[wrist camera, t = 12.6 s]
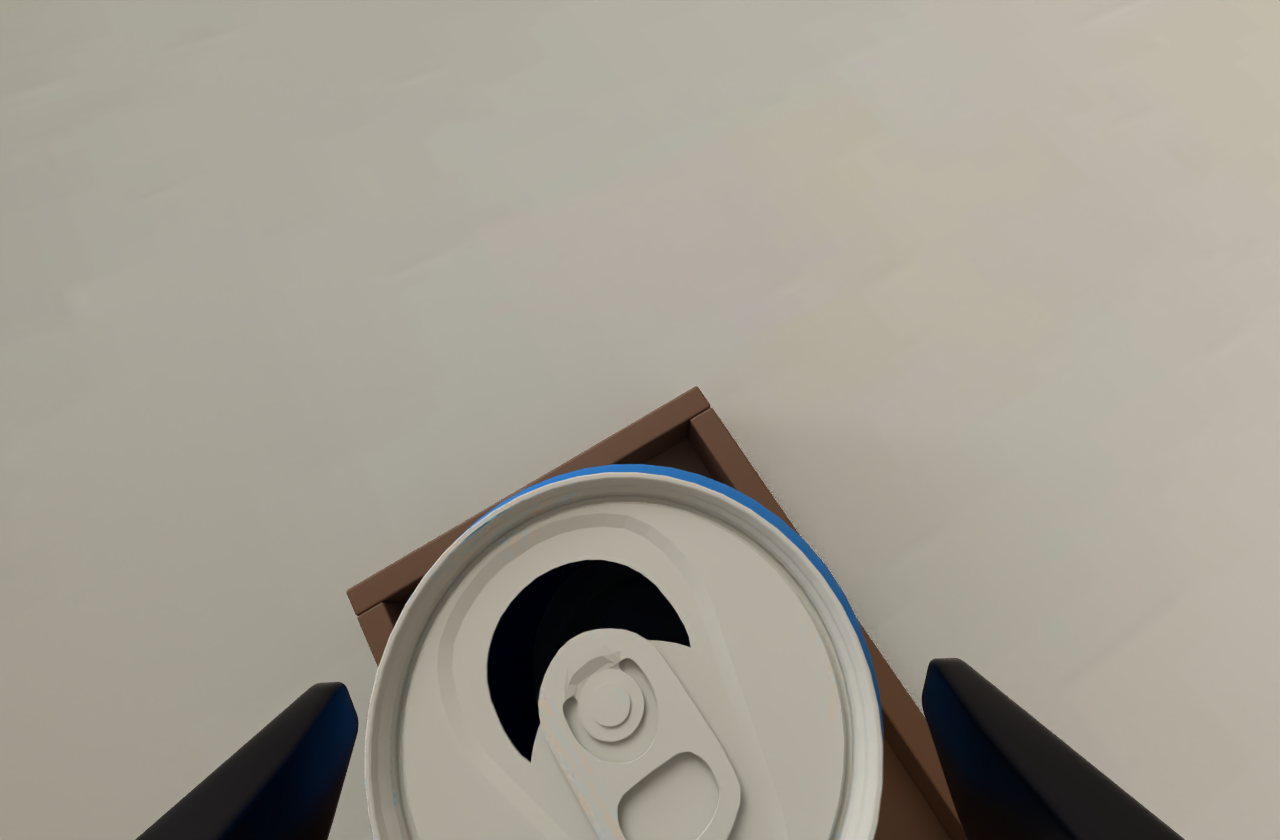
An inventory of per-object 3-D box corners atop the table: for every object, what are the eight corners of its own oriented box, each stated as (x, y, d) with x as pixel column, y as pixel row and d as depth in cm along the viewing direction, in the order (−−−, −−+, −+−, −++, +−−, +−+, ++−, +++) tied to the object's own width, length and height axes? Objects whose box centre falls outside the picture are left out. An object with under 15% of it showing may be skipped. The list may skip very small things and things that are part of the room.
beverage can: (674, 507, 19) (691, 344, 8) (803, 693, 18) (1062, 822, 6) (497, 627, 18) (231, 637, 7) (614, 836, 17) (511, 1302, 5)
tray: (1005, 875, 17) (1065, 921, 14) (638, 1159, 15) (633, 1266, 13) (692, 412, 21) (697, 384, 19) (384, 594, 19) (344, 590, 17)
